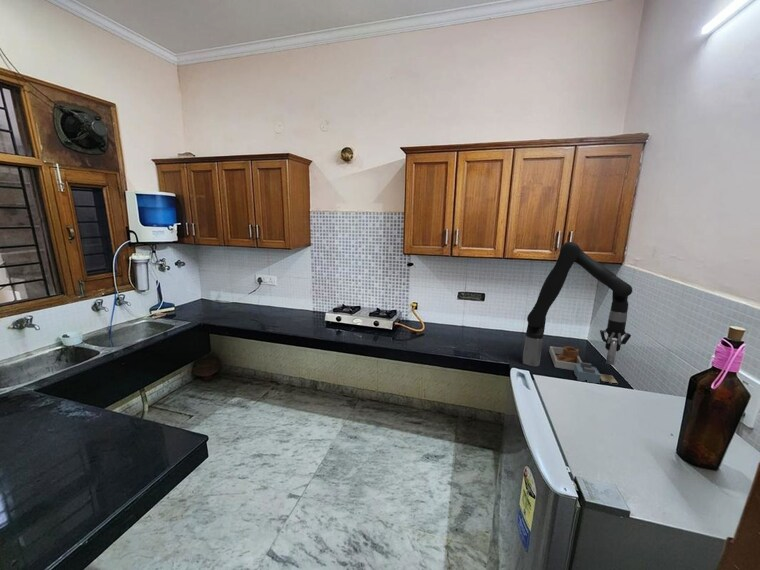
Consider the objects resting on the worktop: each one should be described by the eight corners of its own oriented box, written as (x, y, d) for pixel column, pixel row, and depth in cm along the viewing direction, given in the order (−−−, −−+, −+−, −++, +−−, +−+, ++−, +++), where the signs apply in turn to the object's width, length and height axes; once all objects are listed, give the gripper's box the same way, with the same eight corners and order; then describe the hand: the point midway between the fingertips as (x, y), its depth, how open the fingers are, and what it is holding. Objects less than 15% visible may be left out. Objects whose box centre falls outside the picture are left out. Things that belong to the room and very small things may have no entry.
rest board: (602, 381, 168) (602, 380, 168) (597, 374, 177) (597, 373, 176) (617, 384, 166) (617, 383, 166) (612, 376, 174) (612, 375, 174)
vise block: (577, 380, 170) (579, 368, 168) (573, 372, 179) (575, 360, 178) (599, 383, 166) (601, 371, 165) (594, 375, 175) (596, 363, 174)
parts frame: (554, 367, 185) (555, 360, 184) (549, 351, 207) (549, 346, 206) (583, 371, 180) (584, 365, 179) (574, 355, 202) (575, 349, 201)
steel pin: (607, 364, 168) (610, 341, 166) (605, 361, 172) (608, 339, 169) (615, 365, 167) (618, 342, 165) (612, 362, 170) (616, 340, 168)
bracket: (567, 355, 201) (568, 345, 200) (580, 360, 194) (581, 349, 193) (549, 361, 193) (550, 351, 191) (563, 366, 185) (564, 355, 184)
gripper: (603, 319, 164) (598, 350, 167) (636, 323, 159) (630, 354, 162) (599, 315, 170) (594, 345, 174) (631, 319, 165) (625, 349, 169)
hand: (612, 350), depth 168 cm, fingers closed on steel pin, 3 cm apart
